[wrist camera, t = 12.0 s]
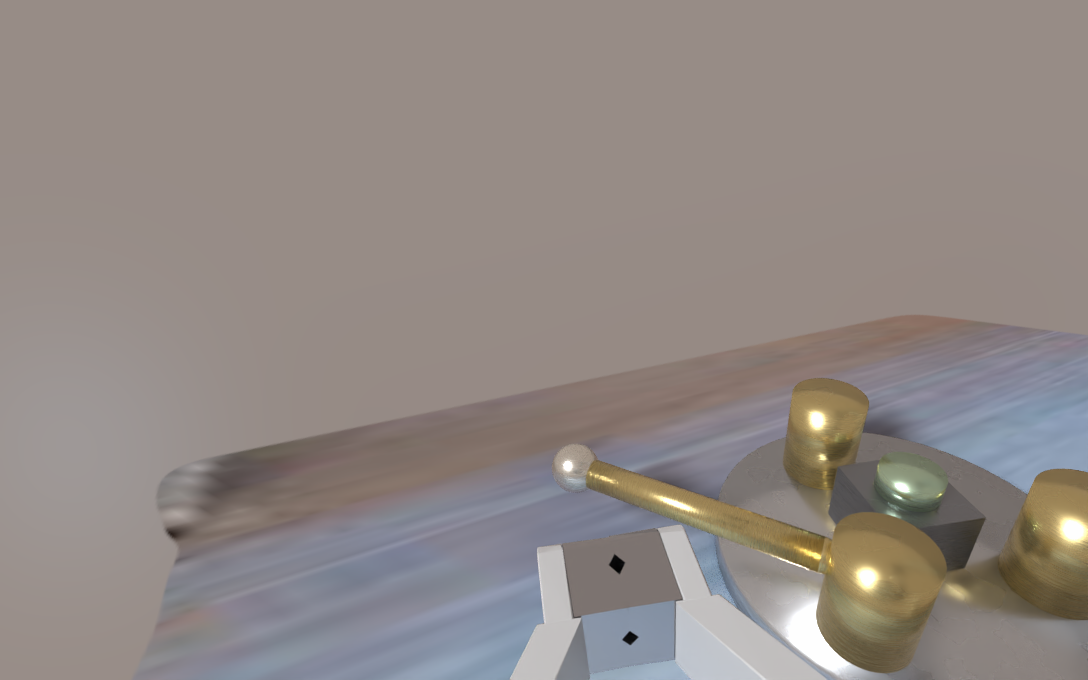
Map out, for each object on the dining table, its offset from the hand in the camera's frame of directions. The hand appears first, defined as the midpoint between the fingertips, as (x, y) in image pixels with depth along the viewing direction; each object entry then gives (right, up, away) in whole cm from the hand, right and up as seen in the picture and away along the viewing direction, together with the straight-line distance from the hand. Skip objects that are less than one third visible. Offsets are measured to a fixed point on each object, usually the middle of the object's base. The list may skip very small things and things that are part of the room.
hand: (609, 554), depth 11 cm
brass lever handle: (+8, -9, +20) cm, 24 cm away
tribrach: (+20, -9, +22) cm, 31 cm away
